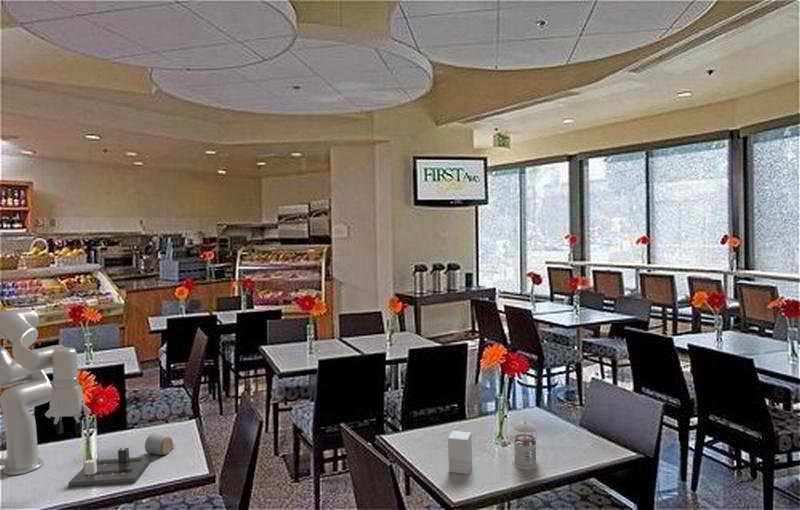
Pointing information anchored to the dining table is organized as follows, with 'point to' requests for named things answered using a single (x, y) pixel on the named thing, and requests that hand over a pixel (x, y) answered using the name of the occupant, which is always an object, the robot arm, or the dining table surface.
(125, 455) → the black fader
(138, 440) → the dining table surface
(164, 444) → the grey cylinder
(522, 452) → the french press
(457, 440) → the supplement box
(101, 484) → the grey slider board
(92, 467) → the white upright block
